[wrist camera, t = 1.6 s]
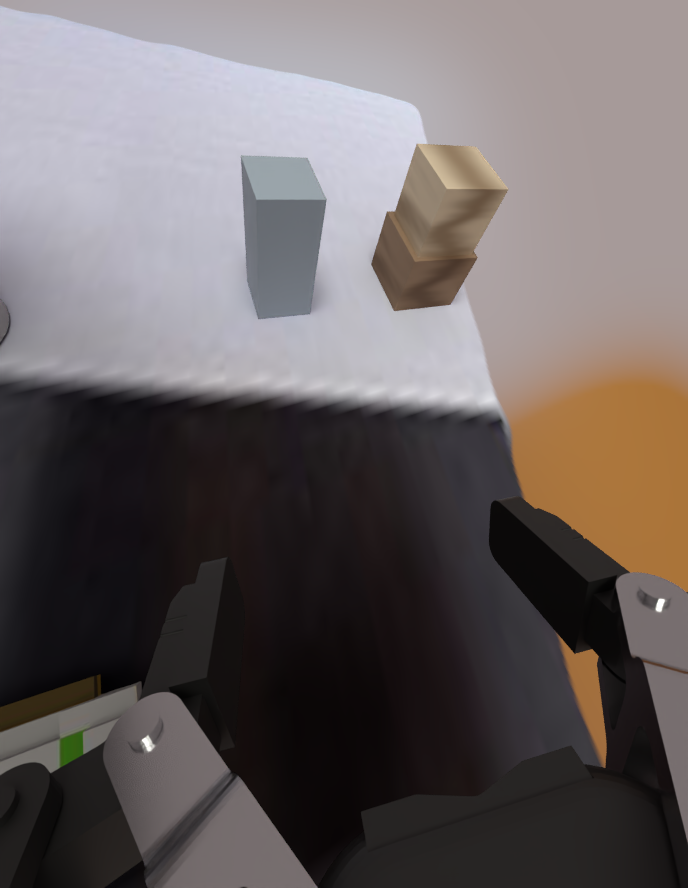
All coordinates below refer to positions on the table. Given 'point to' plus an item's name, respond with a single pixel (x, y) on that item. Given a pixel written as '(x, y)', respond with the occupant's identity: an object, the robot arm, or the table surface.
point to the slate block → (281, 233)
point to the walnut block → (416, 271)
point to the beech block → (448, 200)
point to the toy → (61, 723)
